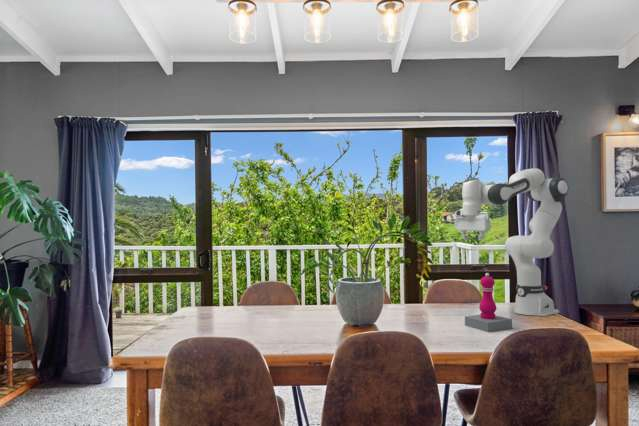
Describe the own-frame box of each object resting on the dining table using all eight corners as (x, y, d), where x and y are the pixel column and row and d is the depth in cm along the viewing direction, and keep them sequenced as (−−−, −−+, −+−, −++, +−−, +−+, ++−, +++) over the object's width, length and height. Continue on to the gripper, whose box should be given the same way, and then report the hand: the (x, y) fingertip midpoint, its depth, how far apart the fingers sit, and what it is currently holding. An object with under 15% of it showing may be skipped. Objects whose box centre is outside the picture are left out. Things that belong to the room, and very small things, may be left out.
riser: (488, 322, 219) (487, 313, 219) (512, 328, 207) (511, 319, 207) (464, 325, 213) (464, 316, 213) (488, 332, 201) (488, 322, 201)
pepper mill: (497, 319, 206) (497, 274, 206) (480, 319, 207) (479, 273, 207) (495, 316, 213) (494, 272, 213) (478, 315, 214) (477, 271, 214)
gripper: (493, 211, 220) (494, 240, 220) (462, 211, 239) (462, 239, 239) (483, 211, 218) (484, 241, 218) (452, 212, 236) (453, 239, 236)
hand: (472, 240), depth 228 cm, fingers open, 8 cm apart
